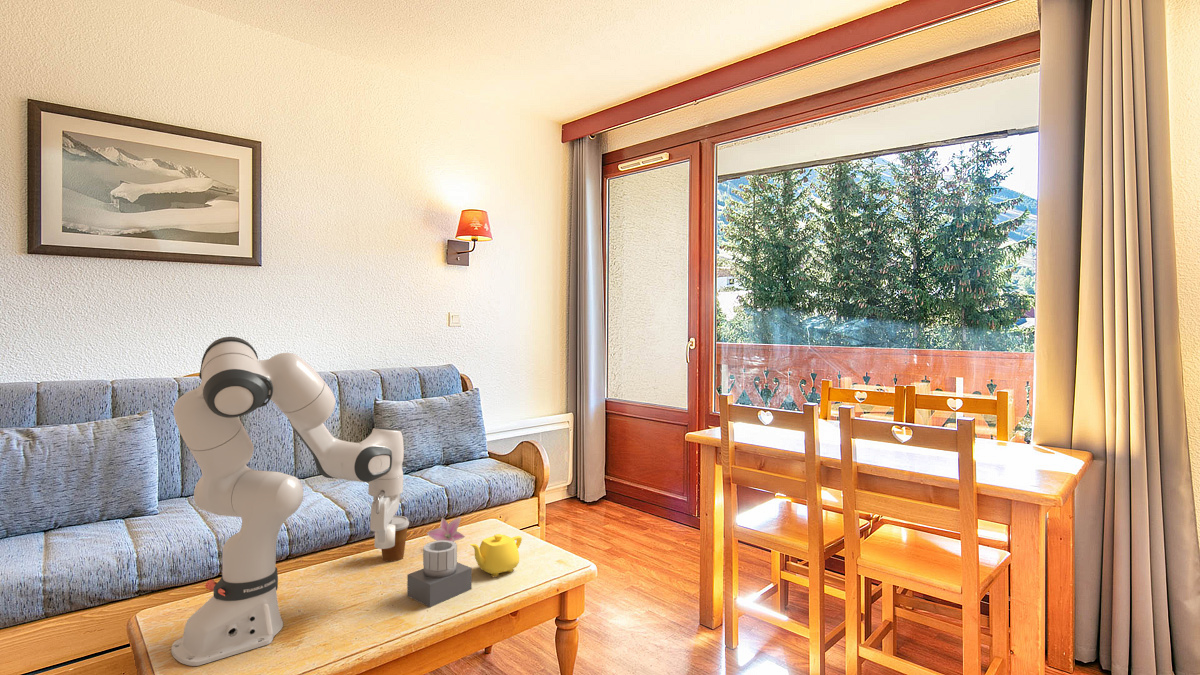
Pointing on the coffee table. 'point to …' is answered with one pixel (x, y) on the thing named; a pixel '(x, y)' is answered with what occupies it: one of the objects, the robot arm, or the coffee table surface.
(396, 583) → the coffee table surface
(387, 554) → the disposable coffee cup
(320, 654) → the coffee table surface
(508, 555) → the teapot
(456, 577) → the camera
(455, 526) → the lily
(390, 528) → the white egg
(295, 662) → the coffee table surface
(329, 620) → the coffee table surface
